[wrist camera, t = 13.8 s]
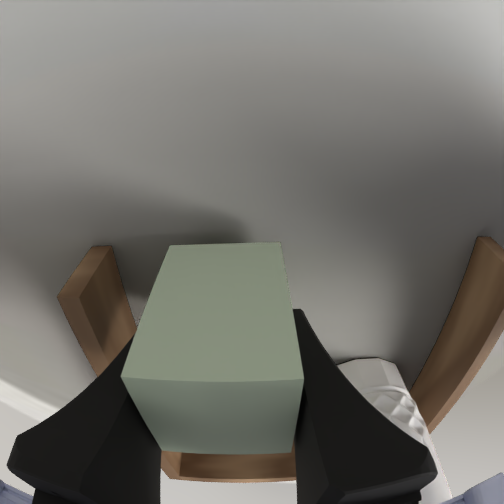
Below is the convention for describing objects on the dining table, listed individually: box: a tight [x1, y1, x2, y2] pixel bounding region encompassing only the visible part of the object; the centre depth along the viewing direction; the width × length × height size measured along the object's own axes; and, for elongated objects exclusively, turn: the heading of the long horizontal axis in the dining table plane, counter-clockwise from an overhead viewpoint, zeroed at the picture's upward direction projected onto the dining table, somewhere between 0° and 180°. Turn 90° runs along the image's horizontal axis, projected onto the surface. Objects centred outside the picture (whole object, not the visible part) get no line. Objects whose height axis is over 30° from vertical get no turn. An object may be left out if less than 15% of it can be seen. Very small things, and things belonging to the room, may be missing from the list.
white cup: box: [337, 358, 453, 504], centre depth 14 cm, size 8×8×10 cm
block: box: [121, 242, 304, 454], centre depth 10 cm, size 4×4×6 cm
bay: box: [57, 237, 504, 483], centre depth 16 cm, size 19×19×4 cm
